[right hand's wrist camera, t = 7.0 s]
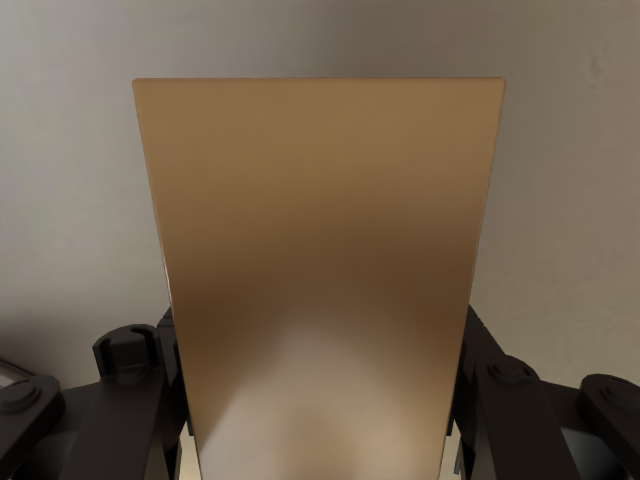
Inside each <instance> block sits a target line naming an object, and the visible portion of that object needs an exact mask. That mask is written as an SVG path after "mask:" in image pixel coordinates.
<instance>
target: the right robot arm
mask: <svg viewBox="0 0 640 480" xmlns="http://www.w3.org/2000/svg"><path fill="white" fill-rule="evenodd" d="M92 348H93V352H94V355H95V359H96V362H97V366H98V370H99V373H100V377H101V379H100V381H99V382H97V383H93V384H90V385H85V386H81V387H76V388H72V389H67V390H63V391H62V390H61V387H60V384H59V381H58V380H56V379H55V378H54V377H52V376H46V375H40V376H31V375H30V374H28V373H26V372H24V371H22V370H20V369H18V368H16V367H14V366H11V365H9V364H6V363H4V362H1V361H0V480H179V474H180V465H181V455H182V448H181V442H180V437H179V436H180V434H181V431H182V429H183V427H184V424H185V422H186V421H187V426H188V432H189V436H194V435H193V429H192V423H191V418H190V412H189V406H188V400H187V395H186V389H185V383H184V378H183V372H182V366H181V361H180V355H179V349H178V343H177V338H176V332H175V326H174V321H173V315H172V309H171V306H170V308H169V309H168V311H167V312H166V313H165V315H164V316H163V319H161V320H160V322H159V323H158V325H157V328H155V327H154V326H151V325H147V324H133V325H128V326H124V327H120V328H118V329H115V330H113V331H110V332H108V333H107V334H105V335H104V336H102V337H101V338H99V339H98V340H97V341H96V343H95V344H94V345H93V346H92ZM454 419H455V422H456V424H457V426H458V429H459V431H460V434H461V437H460V442H459V447H458V452H457V457H456V462H455V468H454V474H457V475H459V471H460V473H461V480H640V387H639V386H637V385H635V384H633V383H631V382H629V381H627V380H624V379H622V378H618V377H615V376H612V375H605V374H592V375H587V376H586V377H585V378H584V379H583V380H582V382H581V385H580V388H579V389H576V388H571V387H567V386H562V385H558V384H553V383H549V382H546V381H542V380H540V378H539V377H538V375H537V374H536V372H535V371H534V369H532V368H531V367H530V366H529V365H527V364H526V363H525V362H523V361H521V360H519V359H517V358H515V357H513V356H509V355H505V353H504V352H503V351H502V349H501V348H500V346H499V345H498V344H497V342H496V341H495V339H494V338H493V337H492V335H491V334H490V332H489V331H488V330H487V328H486V327H485V326H484V324H483V323H482V321H481V320H480V318H478V316H477V314H476V313H475V311H474V310H473V309H472V307H471V306H470V305H469V304H468V310H467V316H466V322H465V328H464V334H463V340H462V345H461V351H460V357H459V363H458V369H457V375H456V381H455V387H454V393H453V399H452V405H451V410H450V416H449V422H448V428H447V434H446V436H451V433H452V428H453V422H454Z"/></svg>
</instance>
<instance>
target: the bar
mask: <svg viewBox="0 0 640 480" xmlns="http://www.w3.org/2000/svg"><path fill="white" fill-rule="evenodd" d="M505 86H506V81H505V79H503V78H501V77H436V78H137V79H135V80H133V81H132V87H133V93H134V98H135V104H136V110H137V116H138V121H139V127H140V133H141V138H142V144H143V150H144V155H145V161H146V167H147V172H148V178H149V184H150V190H151V195H152V201H153V207H154V212H155V218H156V224H157V229H158V235H159V241H160V247H161V252H162V258H163V264H164V269H165V275H166V281H167V286H168V292H169V298H170V304H171V309H172V315H173V321H174V326H175V332H176V338H177V343H178V349H179V355H180V361H181V366H182V372H183V378H184V383H185V389H186V395H187V400H188V406H189V412H190V418H191V423H192V429H193V435H194V440H195V446H196V452H197V457H198V463H199V469H200V474H201V480H439V475H440V469H441V464H442V458H443V452H444V446H445V440H446V434H447V428H448V422H449V416H450V410H451V405H452V399H453V393H454V387H455V381H456V375H457V369H458V363H459V357H460V351H461V345H462V340H463V334H464V328H465V322H466V316H467V310H468V304H469V298H470V292H471V286H472V280H473V275H474V269H475V263H476V257H477V251H478V245H479V239H480V233H481V227H482V221H483V216H484V210H485V204H486V198H487V192H488V186H489V180H490V174H491V168H492V162H493V156H494V151H495V145H496V139H497V133H498V127H499V121H500V115H501V109H502V103H503V97H504V91H505Z"/></svg>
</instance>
